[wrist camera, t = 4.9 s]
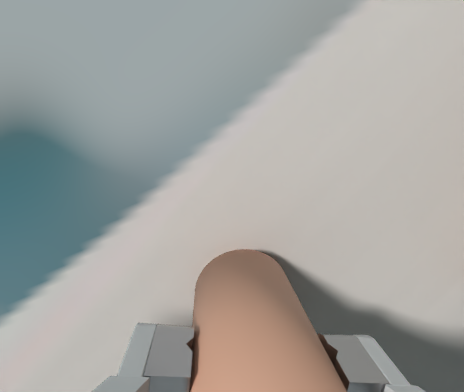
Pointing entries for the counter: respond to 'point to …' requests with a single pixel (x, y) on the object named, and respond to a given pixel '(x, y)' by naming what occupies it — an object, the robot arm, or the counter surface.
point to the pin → (254, 331)
